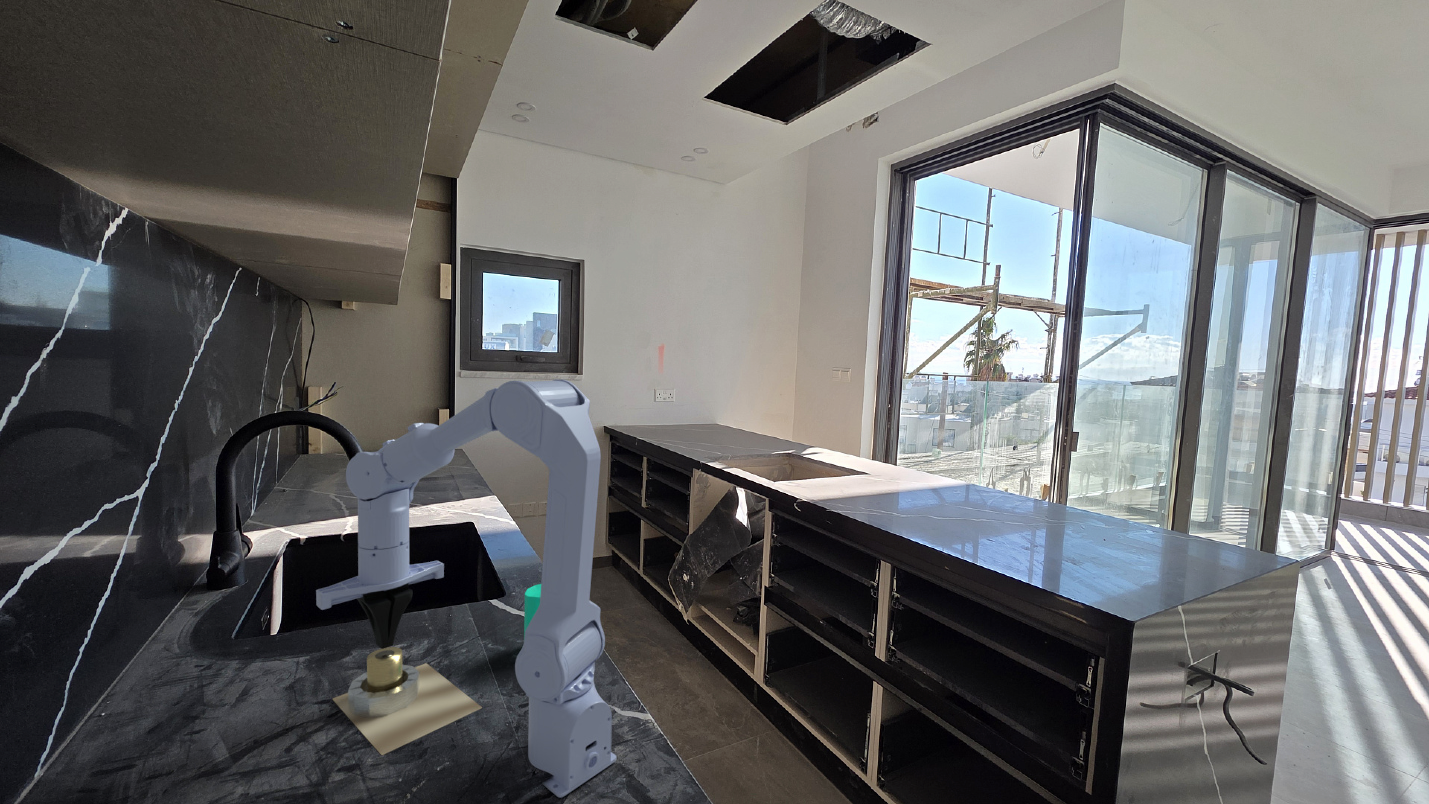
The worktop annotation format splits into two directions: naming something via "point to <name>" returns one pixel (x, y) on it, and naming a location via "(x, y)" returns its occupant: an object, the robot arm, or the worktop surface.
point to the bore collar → (383, 695)
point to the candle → (531, 604)
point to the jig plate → (414, 713)
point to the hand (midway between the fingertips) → (384, 644)
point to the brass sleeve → (384, 669)
